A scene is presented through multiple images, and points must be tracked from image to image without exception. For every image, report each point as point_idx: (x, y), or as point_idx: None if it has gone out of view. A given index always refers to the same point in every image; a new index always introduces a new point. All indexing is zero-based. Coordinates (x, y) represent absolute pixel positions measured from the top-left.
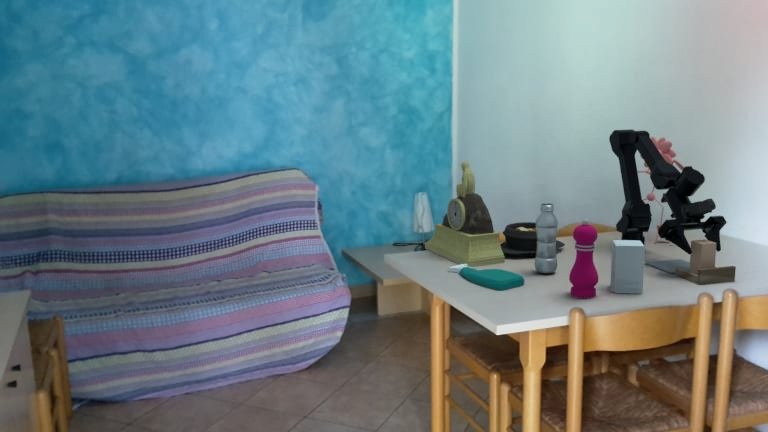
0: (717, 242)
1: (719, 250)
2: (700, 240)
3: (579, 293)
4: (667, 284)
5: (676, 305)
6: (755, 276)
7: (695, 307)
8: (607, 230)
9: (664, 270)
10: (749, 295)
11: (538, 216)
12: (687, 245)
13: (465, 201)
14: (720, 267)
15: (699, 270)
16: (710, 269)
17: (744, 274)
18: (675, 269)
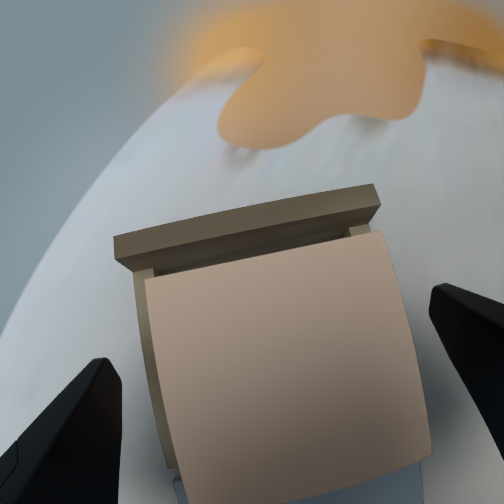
0: (75, 407)
1: (110, 363)
2: (297, 471)
3: None
4: (477, 246)
5: (461, 66)
6: (25, 324)
7: (421, 45)
8: None
9: (420, 476)
10: (218, 86)
11: None
12: (500, 306)
13: None
14: (216, 227)
15: (375, 196)
16: (305, 195)
17: (44, 366)
18: (363, 488)
